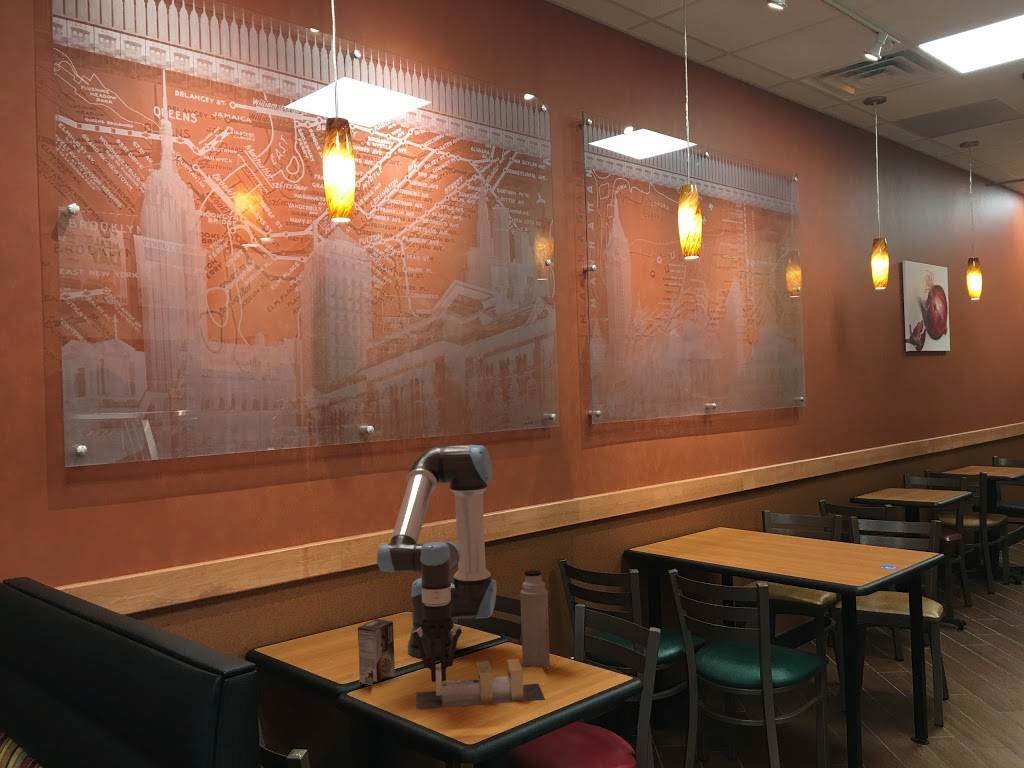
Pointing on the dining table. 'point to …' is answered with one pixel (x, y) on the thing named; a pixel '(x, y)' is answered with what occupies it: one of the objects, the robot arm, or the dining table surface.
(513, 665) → the collar stand
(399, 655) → the dining table surface
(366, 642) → the coffee box
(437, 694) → the robot arm
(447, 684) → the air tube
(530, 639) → the thermos bottle
